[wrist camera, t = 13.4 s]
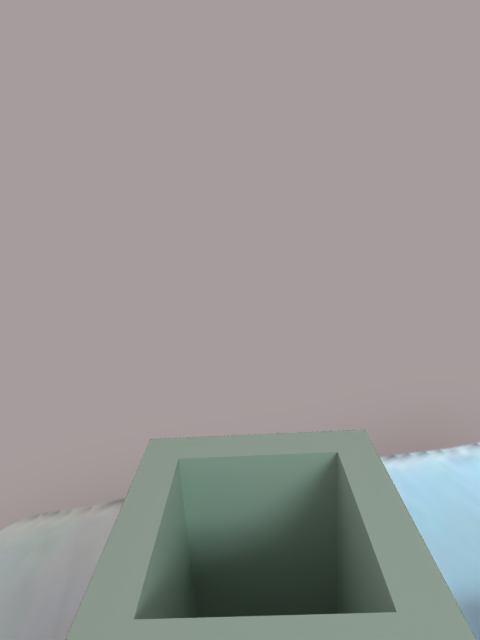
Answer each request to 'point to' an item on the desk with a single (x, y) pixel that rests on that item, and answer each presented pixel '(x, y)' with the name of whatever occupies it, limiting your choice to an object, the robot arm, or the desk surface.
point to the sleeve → (266, 547)
